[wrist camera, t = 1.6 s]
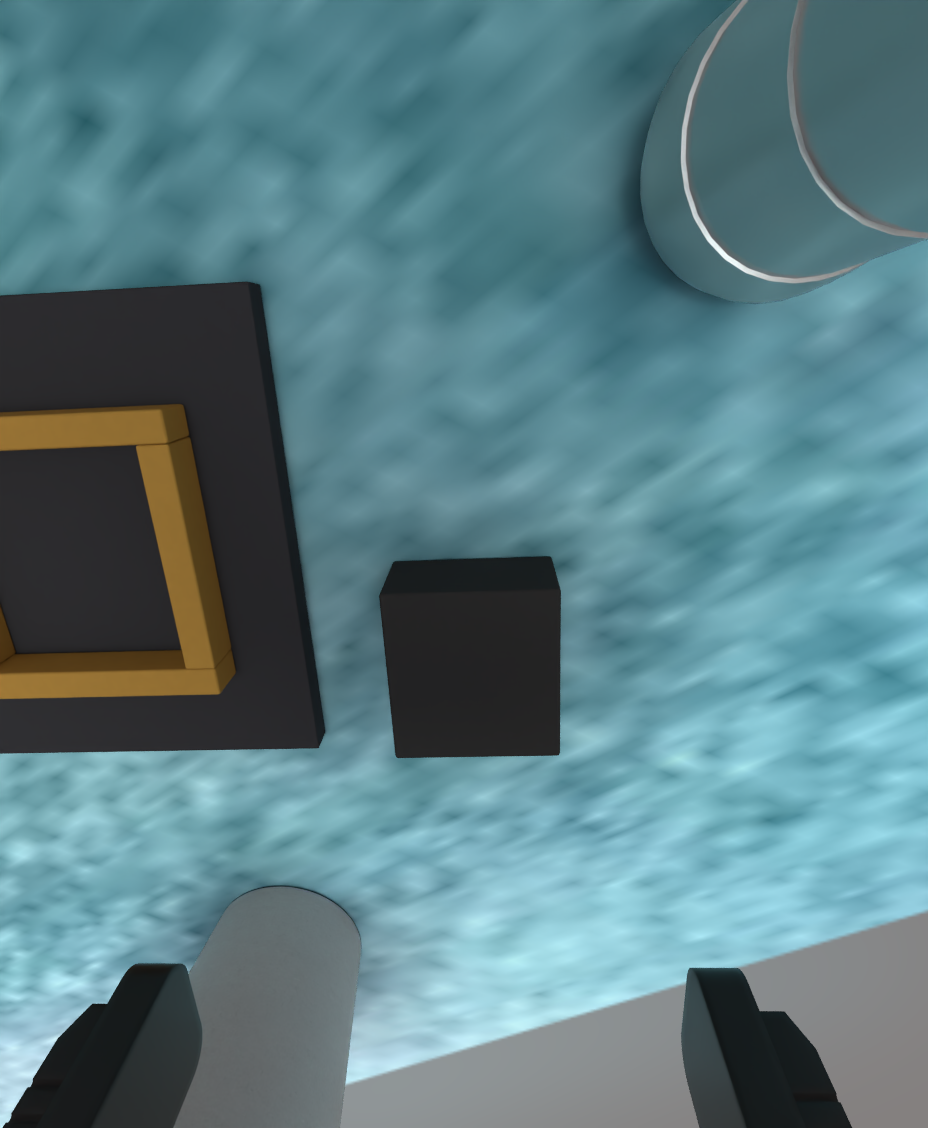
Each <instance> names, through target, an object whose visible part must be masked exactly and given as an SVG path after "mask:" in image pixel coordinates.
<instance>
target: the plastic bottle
mask: <svg viewBox="0 0 928 1128" xmlns="http://www.w3.org/2000/svg"><path fill="white" fill-rule="evenodd" d="M640 199H641V205H642V211H643V218H644V222H645V225H646V228H647V231H648V233H649V236H650V239H651V242H652V244H653V246H654V247H655V249H656V251H657V252H658V254H659V255H660V257H661V259H662V260H663V262H664V263H665V264H666V265H667V266H668V267H669V268H670V269H671V270H672V271H673V272H674V273H675V274H676V275H677V276H678V277H679V278H680V279H681V280H683V281H685V282H686V283H688V284H689V285H691V286H692V287H694V288H696V289H698V290H700V291H703V292H705V293H708V294H711V295H714V296H717V297H720V298H722V299H725V300H728V301H732V302H742V303H751V304H759V303H768V302H777V301H783V300H786V299H789V298H792V297H795V296H798V295H801V294H804V293H807V292H810V291H812V290H814V289H816V288H819V287H821V286H823V285H826V284H828V283H830V282H832V281H834V280H836V279H838V278H840V277H842V276H844V275H845V274H847V273H849V272H851V271H853V270H855V269H857V268H858V267H860V266H862V265H863V264H865V263H866V262H868V261H869V260H872V259H874V258H877V257H880V256H883V255H885V254H888V253H891V252H894V251H896V250H899V249H902V248H905V247H907V246H910V245H913V244H916V243H918V242H921V241H924V240H927V239H928V0H736V1H735V2H734V3H733V4H732V5H731V6H730V7H729V8H727V9H726V10H725V11H724V12H723V13H722V14H721V15H720V16H719V17H718V18H717V19H716V20H714V21H713V22H712V23H711V24H710V25H709V26H708V27H707V28H706V29H705V30H704V31H703V32H702V33H701V34H699V36H698V37H697V38H696V39H695V41H694V42H693V43H692V45H691V46H690V47H689V49H688V50H687V51H686V52H685V54H684V55H683V56H682V58H681V59H680V60H679V62H678V63H677V65H676V67H675V69H674V71H673V72H672V74H671V76H670V78H669V80H668V82H667V83H666V85H665V87H664V89H663V91H662V93H661V96H660V98H659V101H658V104H657V107H656V110H655V112H654V115H653V118H652V121H651V124H650V127H649V131H648V135H647V140H646V144H645V149H644V155H643V160H642V165H641V178H640Z"/></svg>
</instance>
